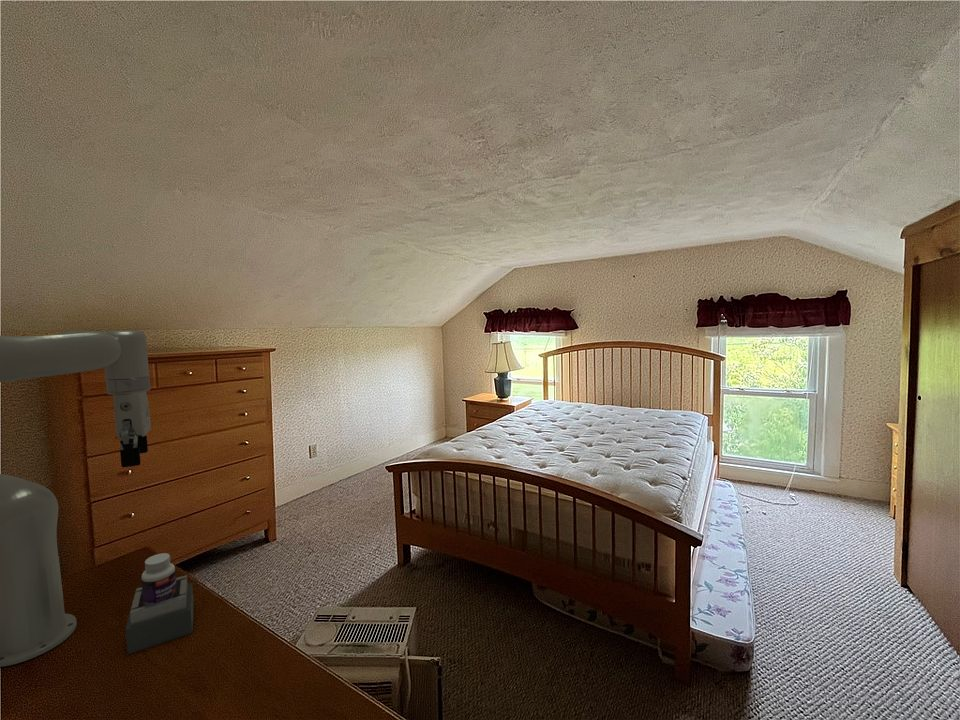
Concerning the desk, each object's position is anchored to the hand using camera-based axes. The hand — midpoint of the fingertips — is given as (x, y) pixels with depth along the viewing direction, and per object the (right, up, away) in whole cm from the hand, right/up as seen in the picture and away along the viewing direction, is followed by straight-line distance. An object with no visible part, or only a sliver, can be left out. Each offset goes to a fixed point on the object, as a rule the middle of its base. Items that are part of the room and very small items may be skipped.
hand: (135, 459), depth 97 cm
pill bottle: (+14, -27, -11) cm, 32 cm away
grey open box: (+15, -31, -11) cm, 36 cm away
